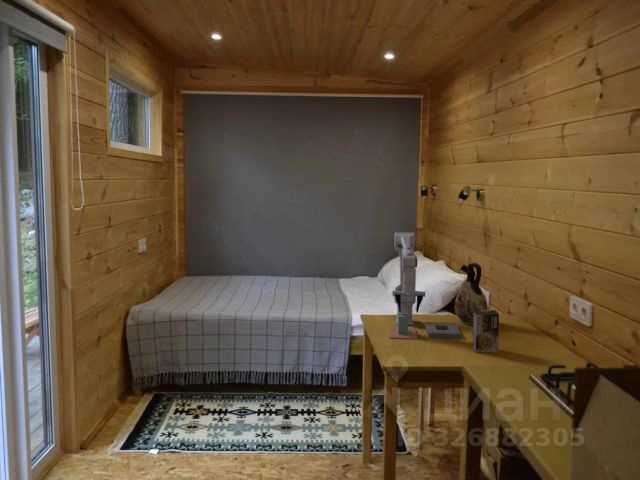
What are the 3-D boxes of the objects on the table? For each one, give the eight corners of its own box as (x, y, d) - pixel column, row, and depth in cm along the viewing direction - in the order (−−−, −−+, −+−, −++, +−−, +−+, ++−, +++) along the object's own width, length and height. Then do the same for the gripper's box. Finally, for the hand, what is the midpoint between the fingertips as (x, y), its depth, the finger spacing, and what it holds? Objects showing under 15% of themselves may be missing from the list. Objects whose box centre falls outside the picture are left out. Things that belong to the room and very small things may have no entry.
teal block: (397, 330, 242) (398, 313, 241) (406, 330, 242) (407, 313, 241) (398, 334, 236) (398, 316, 235) (407, 334, 236) (407, 316, 235)
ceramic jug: (447, 320, 260) (449, 260, 256) (472, 317, 267) (474, 258, 263) (470, 329, 245) (473, 265, 241) (496, 326, 251) (499, 263, 248)
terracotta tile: (388, 328, 248) (388, 326, 247) (414, 328, 246) (414, 327, 246) (389, 338, 232) (389, 337, 232) (417, 339, 231) (417, 337, 231)
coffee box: (494, 348, 219) (496, 309, 217) (498, 353, 213) (499, 314, 211) (471, 347, 220) (473, 309, 218) (474, 352, 214) (476, 313, 212)
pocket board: (424, 326, 251) (424, 321, 251) (454, 326, 250) (454, 322, 249) (428, 337, 233) (428, 333, 233) (461, 338, 232) (461, 334, 232)
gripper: (393, 283, 234) (392, 313, 236) (426, 284, 233) (425, 314, 235) (392, 280, 241) (392, 309, 243) (425, 281, 240) (424, 310, 242)
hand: (408, 311), depth 239 cm, fingers open, 7 cm apart
